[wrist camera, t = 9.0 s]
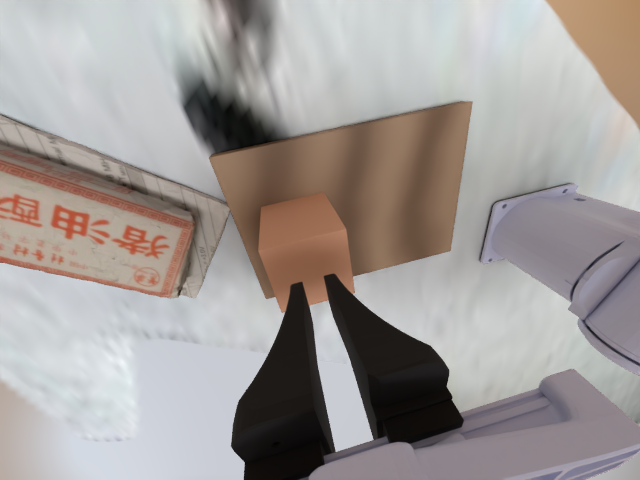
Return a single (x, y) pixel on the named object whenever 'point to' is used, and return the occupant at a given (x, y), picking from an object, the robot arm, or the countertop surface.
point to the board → (359, 184)
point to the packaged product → (101, 217)
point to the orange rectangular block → (304, 247)
